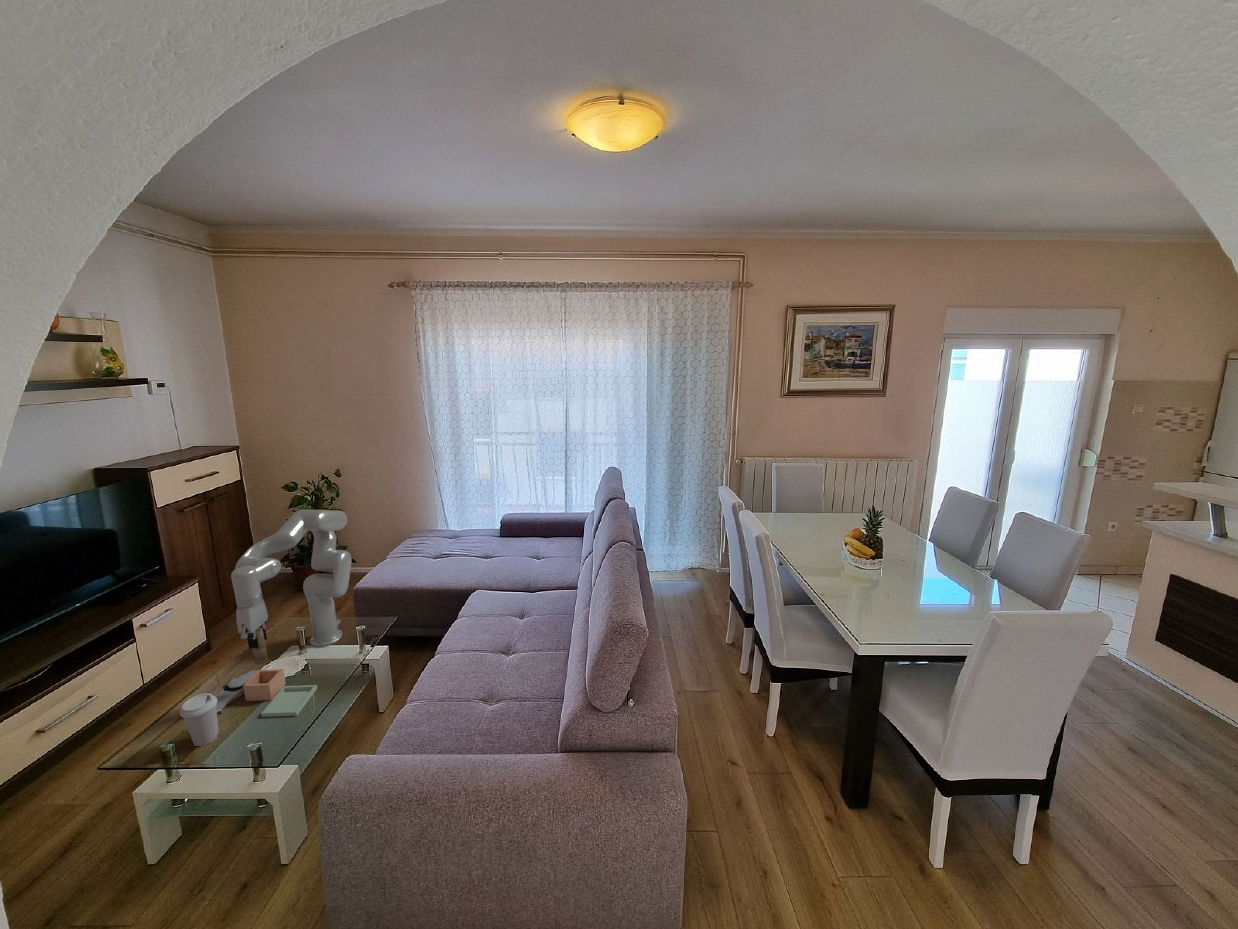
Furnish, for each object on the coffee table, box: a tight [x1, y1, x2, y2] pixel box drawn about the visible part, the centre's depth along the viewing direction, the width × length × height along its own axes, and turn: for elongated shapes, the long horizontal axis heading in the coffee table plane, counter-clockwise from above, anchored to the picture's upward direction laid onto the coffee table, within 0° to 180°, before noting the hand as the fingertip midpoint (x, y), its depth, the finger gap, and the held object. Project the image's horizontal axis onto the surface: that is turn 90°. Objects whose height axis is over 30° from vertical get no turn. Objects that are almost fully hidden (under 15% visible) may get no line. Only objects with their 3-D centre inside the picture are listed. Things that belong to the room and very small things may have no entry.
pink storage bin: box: [243, 668, 287, 702], centre depth 183 cm, size 9×9×8 cm
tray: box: [260, 684, 318, 718], centre depth 179 cm, size 14×12×2 cm
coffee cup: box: [179, 692, 220, 747], centre depth 161 cm, size 10×10×15 cm
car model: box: [214, 669, 259, 715], centre depth 181 cm, size 11×24×5 cm, turn 172°
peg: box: [249, 628, 269, 666], centre depth 179 cm, size 4×4×13 cm
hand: (258, 643), depth 179 cm, fingers closed on peg, 4 cm apart
